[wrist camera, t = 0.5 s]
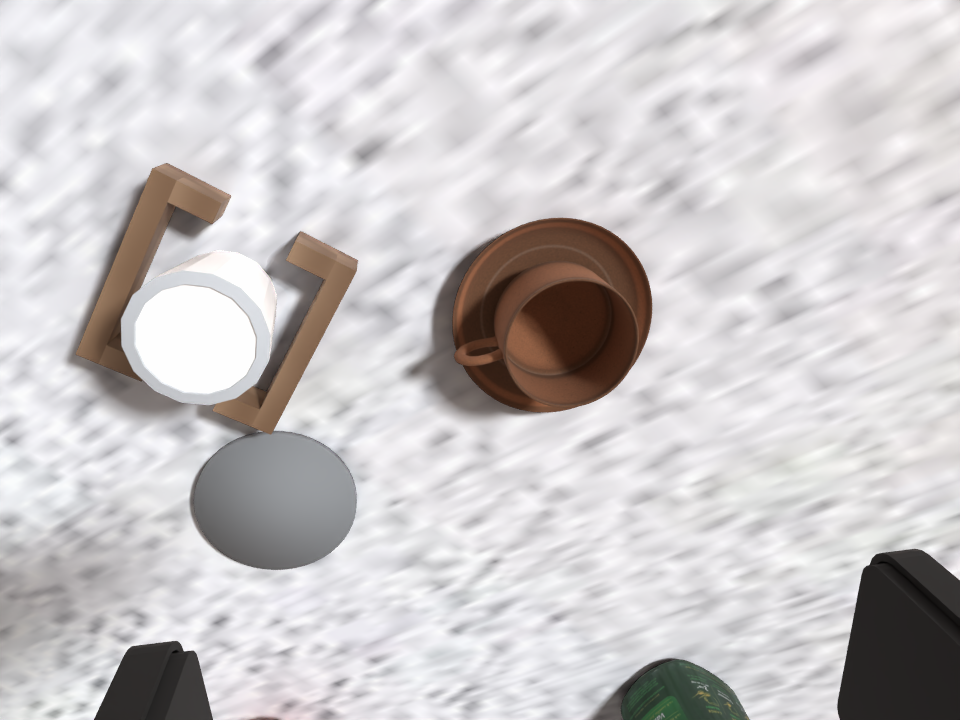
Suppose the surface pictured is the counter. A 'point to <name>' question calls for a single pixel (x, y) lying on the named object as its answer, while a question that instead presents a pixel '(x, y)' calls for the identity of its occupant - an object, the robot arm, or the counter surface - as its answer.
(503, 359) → the cup and saucer
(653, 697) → the coffee jar
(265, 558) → the coaster
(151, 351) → the white cylinder
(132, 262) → the pocket
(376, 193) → the counter surface
